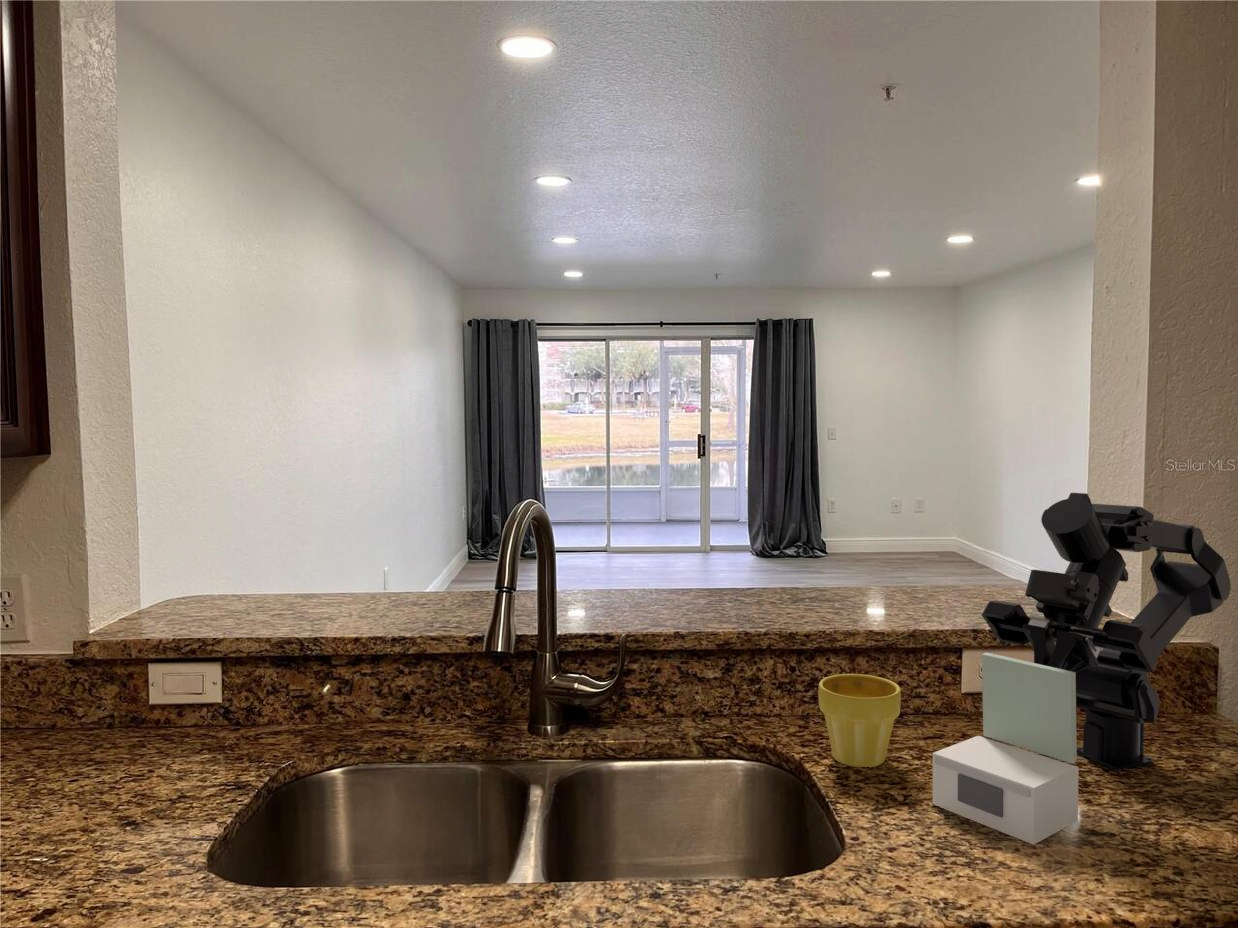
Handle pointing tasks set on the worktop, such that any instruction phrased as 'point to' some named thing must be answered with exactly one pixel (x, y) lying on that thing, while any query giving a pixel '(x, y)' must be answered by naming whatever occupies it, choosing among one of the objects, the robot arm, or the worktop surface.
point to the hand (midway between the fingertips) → (1037, 691)
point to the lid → (1030, 706)
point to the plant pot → (859, 716)
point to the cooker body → (1006, 788)
